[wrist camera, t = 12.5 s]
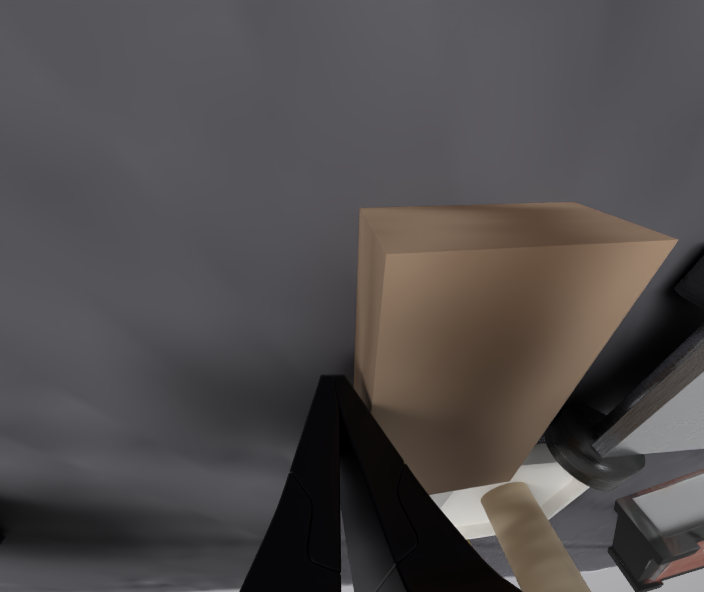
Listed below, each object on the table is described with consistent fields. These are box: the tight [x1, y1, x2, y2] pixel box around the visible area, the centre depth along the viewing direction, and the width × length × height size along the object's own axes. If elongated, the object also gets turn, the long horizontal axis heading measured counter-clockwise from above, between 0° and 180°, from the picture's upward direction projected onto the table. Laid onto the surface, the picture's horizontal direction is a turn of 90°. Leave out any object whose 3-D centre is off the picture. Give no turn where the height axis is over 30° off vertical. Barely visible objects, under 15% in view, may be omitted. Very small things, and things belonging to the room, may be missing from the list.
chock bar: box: [354, 202, 678, 495], centre depth 11 cm, size 7×12×4 cm, turn 178°
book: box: [608, 469, 704, 592], centre depth 33 cm, size 26×18×5 cm
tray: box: [429, 443, 589, 540], centre depth 21 cm, size 12×12×1 cm
